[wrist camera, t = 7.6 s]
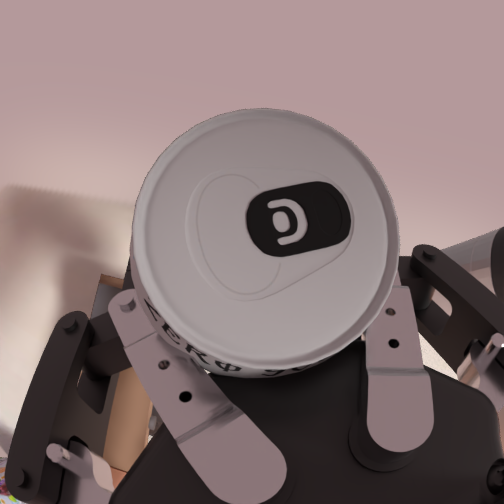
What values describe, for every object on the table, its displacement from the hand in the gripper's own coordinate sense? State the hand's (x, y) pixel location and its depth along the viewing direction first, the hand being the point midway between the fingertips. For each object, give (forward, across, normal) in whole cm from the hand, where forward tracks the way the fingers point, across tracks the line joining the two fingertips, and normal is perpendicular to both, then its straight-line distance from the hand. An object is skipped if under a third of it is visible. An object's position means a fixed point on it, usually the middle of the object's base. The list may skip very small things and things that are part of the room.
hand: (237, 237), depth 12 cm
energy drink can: (+4, 0, +7) cm, 8 cm away
